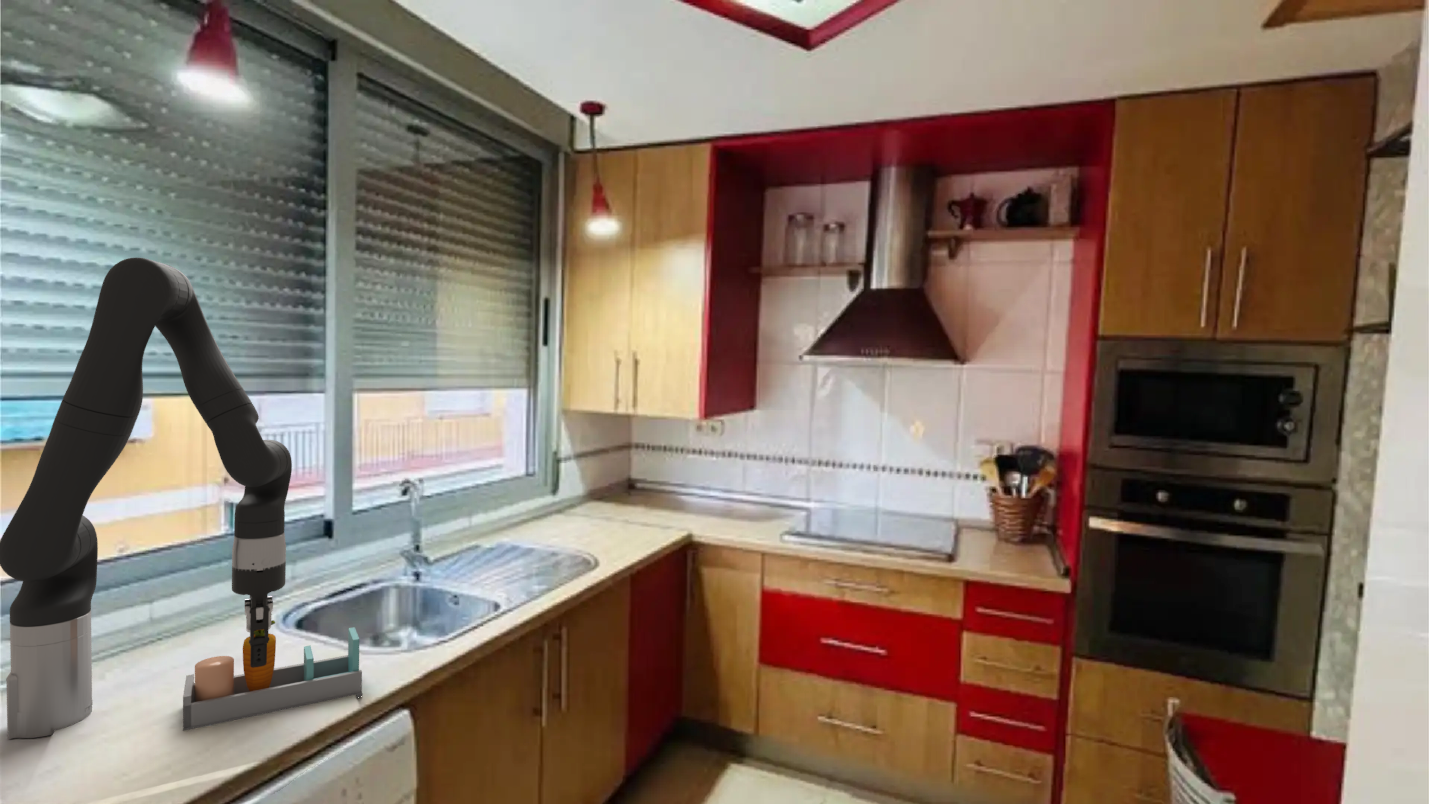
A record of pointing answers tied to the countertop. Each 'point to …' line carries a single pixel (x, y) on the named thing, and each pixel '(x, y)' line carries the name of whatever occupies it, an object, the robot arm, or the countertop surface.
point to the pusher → (352, 656)
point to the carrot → (263, 674)
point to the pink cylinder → (214, 678)
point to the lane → (273, 693)
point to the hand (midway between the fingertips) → (258, 656)
